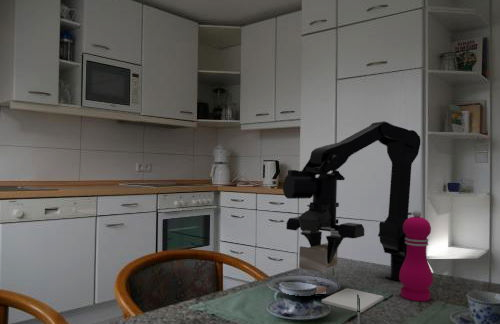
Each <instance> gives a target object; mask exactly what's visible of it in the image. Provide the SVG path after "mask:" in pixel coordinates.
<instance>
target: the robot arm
mask: <svg viewBox="0 0 500 324" xmlns="http://www.w3.org/2000/svg"><path fill="white" fill-rule="evenodd" d="M376 142H379V143H380V144H382V145H384V146H385V147H386V152H387V153H386V154H387V155H388V157H389V160H390V162H391V172H390V173H391V174H390V187H389V199H388V200H389V203H388V215H387V217H386V219H385V220H384V221H380V222H379V224H378V229H379V230H378V234H377V237H378V238H379V242H380V244H381V245H382V248H383V252H384V254H389V255H390V272H389V274H386V276H385V278H386V279H389V280H395V281H399V282H401V281H400V279H399V274H400V269H401V267H402V265H403V263H404V260H405V258H406V253H407V244H406V243H405V240H406V239H405V237H407V236H406V234H405V233H404V231H403V224H404V222H405V220H406V219H408V218H409V207H410V192H411V180H412V179H411V177H412V165H413V163H414V161H415V159H417V157H418V155H419V152H420V146H421V136H420V135H419V134H418V132H416V130H413V129H408V128H404V127H402V126H401V127H400V126H396V125H394V124H392V123H390V122H387V121H385V120H384V121H377V122H373V123H371V124H370V125H369V126H367V127H365V128H363V129H360V131H358V132H355V133H354V134H352V135H350V136H348V137H346V138H345V139H342V140H339V142H336V143H332V144H328V145H327V144H326V145H323V146H320V147H316V148H314V149H313V150H312V151H311V152H310V156H309V159H308V161H307V162H306V163H305V165H304V167H303V168H302V170H296V169H288V170H287V175H286V176H285V177H284V180H283V183H282V192H283V195H284V197H285V198H286V199H290V200H291V199H297V200H298V199H303V200H304V199H311V198H312V201H311V202H310V203H309V205H308V210H306V211H305V212H303V213H302V214H300V216H296V217H289V218H288V219H287V221H286V227H285V228H286V230H289V231H298V230H299V228H300V235H302V236H304V237H305V238H306V239H307V241H308V243H309V245H310V247H313V246H317V245H321V244H322V234H323V232H322V231H324V232H325V231H326V232H330V234H329V235H326V236H325V239H326V240H327V241H326V242H327V243H328V251H327V263H328V264H330V263H331V262H332V260H333V257H334V255H335V253H336V251H337V249H338V250H339V247H340V245H341V243H342V241H343V240H344V239H358V238H361V237H364V236H365V228H364V225H363V224H362V223H354V222H344V223H341V224H339V219H338V218H337V208H339V206H340V202H337V197H338V196H337V194H338V191H337V190H338V189H337V188H338V181H344V180H346V179H345V177H344V175H342V174H341V172H340V171H339V169H340V168H341V167H342V166H343V165H344V164H345V163H347V161H348V159H349V158H351V156H352V155H354V154H357V152H359V151H361V150H363V149H365V148H366V147H368V146H370V145H372V144H374V143H376ZM330 172H331V173H330ZM317 175H318V176H317ZM316 176H317V177H316ZM337 252H338V251H337Z"/></svg>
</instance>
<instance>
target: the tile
mask: <svg viewBox="0 0 500 324" xmlns="http://www.w3.org/2000/svg"><path fill="white" fill-rule="evenodd" d="M317 285H318V284H317ZM326 290H327V287H326V286H323V285H318V290H317V294H320V293H323V292H325V291H326ZM326 292H327V291H326Z"/></svg>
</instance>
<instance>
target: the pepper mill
mask: <svg viewBox="0 0 500 324" xmlns="http://www.w3.org/2000/svg"><path fill="white" fill-rule="evenodd" d="M421 216H422V212H421V211H420V210H419V209H416V210H415V209H414V211H412V216H410V217H408V219H406V220H405V222H404V224H403V231H404V233H405V234H406V236H407V237H405V239H406V240H405V243H406V244H407V253H406V258H405V260H404V263H403V265H402V267H401V269H400V274H399V279H400V281H399V282H400V283H401V284H402V287H400V295H401V297H402V298H403V299H406V300H410V301H414V302H428V301H430V300H431V290H430V289H429V288H430V287H431V286H432V285H433V283H434V276H433V273H432V270H431V269H432V268H431V266H430V265H429V263H428V259H427V247H428V246H429V239H428V237H429V236H430V234H431V232H432V227H431V223H430V222H429V221H428V220H427V219H426V218H424V217H421Z"/></svg>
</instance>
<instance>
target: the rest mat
mask: <svg viewBox="0 0 500 324" xmlns="http://www.w3.org/2000/svg"><path fill="white" fill-rule="evenodd" d="M357 294H358V295H359V298H360V312H359V313H363V312H364V311H367V310H369V308H371V307H372V306H374V305H376V304H377V303H379V302H381V301H382V300H384V296H383V295H378V294H375V293H370V292H366V291H363V290H362V291H361V290H357V289H352V288H350V287H349V288H348V287H347V288H344V289H342V290H340V291H337V292H335V293H333V294H330V295H329V296H327V297H325V298H322V299H321V303H322V304H325V305H329V306H333V307H337V308H340V309H345V310H348V311H349V310H350V311H353V312H357ZM357 313H358V312H357Z"/></svg>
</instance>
